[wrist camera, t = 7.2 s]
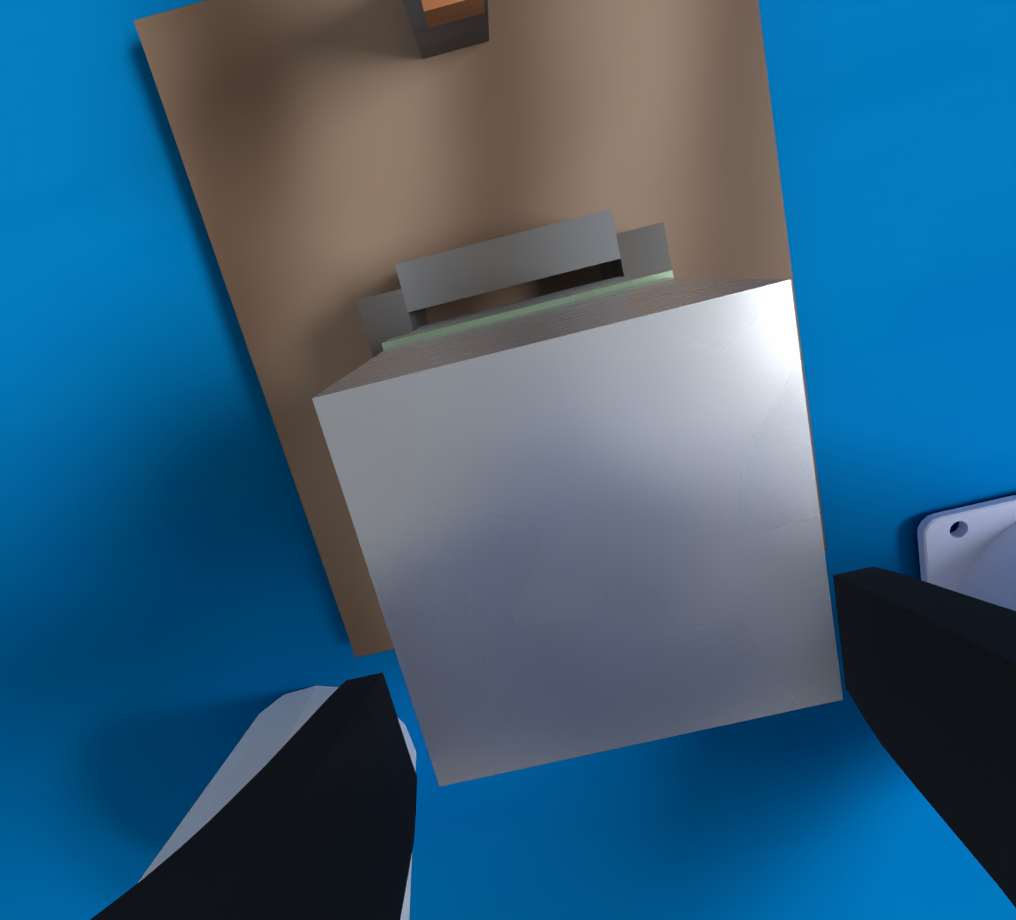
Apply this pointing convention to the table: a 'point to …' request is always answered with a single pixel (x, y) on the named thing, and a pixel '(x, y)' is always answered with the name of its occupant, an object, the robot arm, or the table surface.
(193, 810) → the shot glass
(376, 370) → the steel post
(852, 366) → the table surface
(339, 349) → the stand
